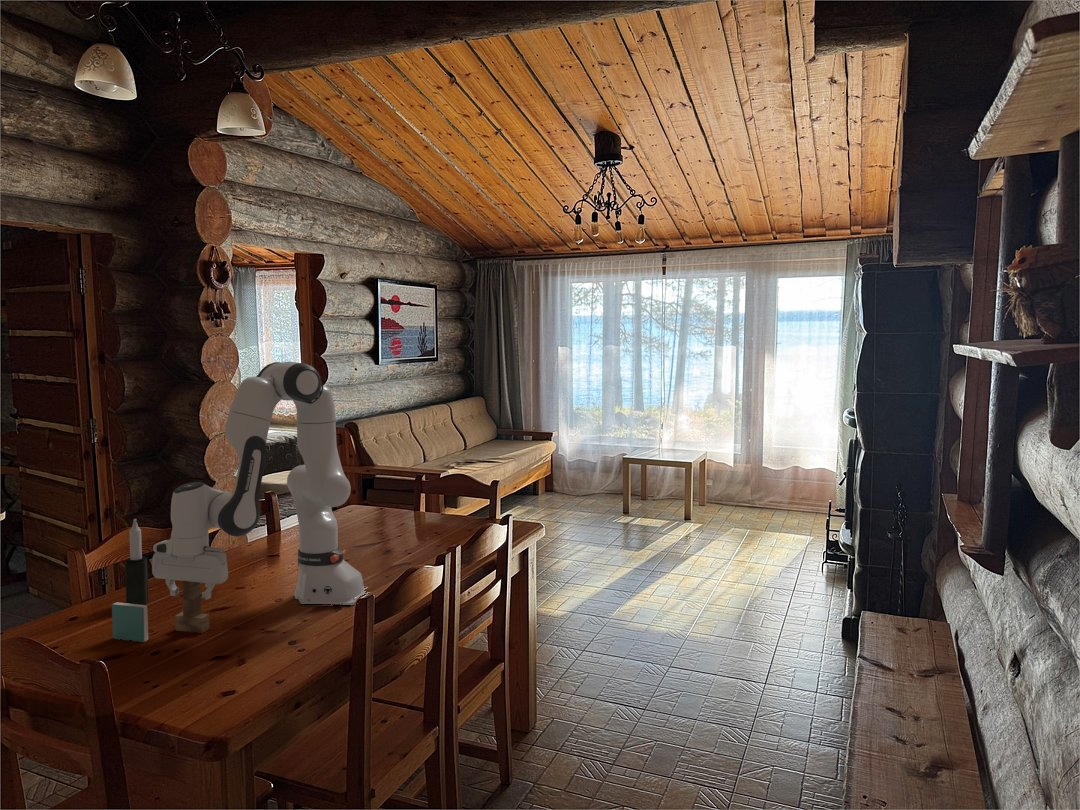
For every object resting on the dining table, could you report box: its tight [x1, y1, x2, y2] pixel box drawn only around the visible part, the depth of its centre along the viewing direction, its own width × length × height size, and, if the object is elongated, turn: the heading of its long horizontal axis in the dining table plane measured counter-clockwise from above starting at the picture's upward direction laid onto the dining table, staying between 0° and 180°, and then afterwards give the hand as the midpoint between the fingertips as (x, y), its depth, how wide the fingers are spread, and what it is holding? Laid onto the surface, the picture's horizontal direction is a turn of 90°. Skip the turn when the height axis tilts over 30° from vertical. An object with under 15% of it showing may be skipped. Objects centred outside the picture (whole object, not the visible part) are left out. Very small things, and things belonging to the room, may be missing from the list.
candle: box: [124, 518, 149, 605], centre depth 204 cm, size 5×5×25 cm
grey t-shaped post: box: [174, 581, 211, 634], centre depth 188 cm, size 8×3×14 cm, turn 79°
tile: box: [111, 602, 149, 643], centre depth 181 cm, size 9×2×9 cm, turn 79°
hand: (190, 596), depth 187 cm, fingers open, 8 cm apart
